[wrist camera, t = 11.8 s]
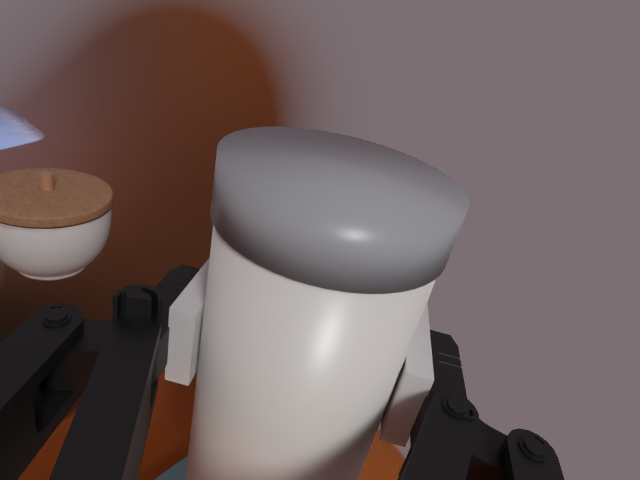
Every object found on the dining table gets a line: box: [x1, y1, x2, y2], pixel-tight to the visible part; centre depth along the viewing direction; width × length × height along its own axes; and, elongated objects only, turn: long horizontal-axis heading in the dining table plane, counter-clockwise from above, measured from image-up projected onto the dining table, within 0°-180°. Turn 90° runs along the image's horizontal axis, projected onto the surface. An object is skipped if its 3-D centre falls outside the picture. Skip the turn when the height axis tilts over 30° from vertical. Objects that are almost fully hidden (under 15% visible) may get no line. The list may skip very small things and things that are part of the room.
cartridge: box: [185, 127, 469, 480], centre depth 15 cm, size 6×6×16 cm
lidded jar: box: [0, 168, 113, 281], centre depth 42 cm, size 11×11×9 cm
